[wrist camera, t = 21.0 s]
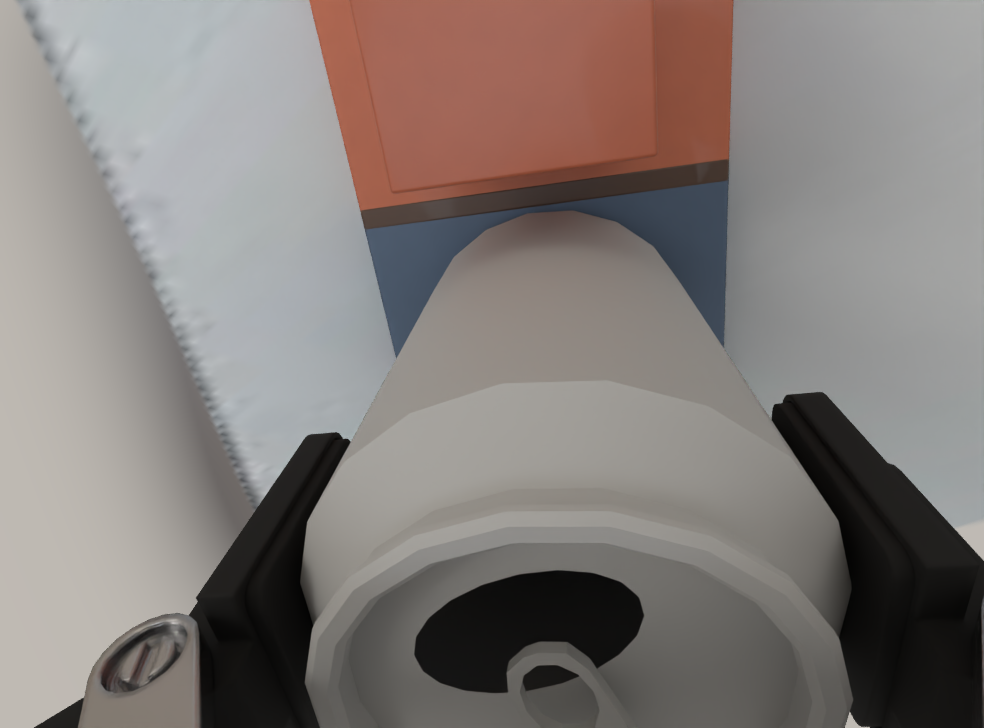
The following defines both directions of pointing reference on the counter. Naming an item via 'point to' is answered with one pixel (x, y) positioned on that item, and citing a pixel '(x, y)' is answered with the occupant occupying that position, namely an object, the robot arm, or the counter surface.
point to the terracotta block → (507, 86)
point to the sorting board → (590, 190)
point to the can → (571, 514)
